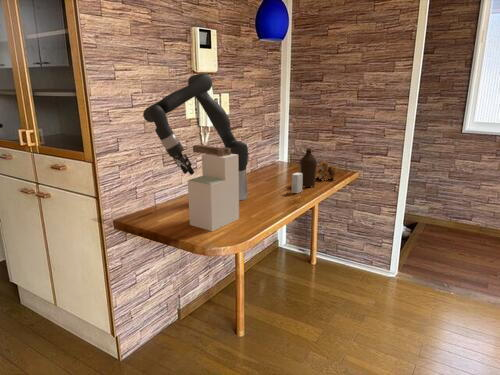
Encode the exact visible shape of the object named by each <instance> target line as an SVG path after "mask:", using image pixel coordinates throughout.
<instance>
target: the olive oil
mask: <svg viewBox="0 0 500 375" xmlns="http://www.w3.org/2000/svg"><path fill="white" fill-rule="evenodd" d="M299 173H303V181H302V186H305V187H311V186H314V185H316V178H315V177H316V176H317V160H316V157H315V156H314V155H313V154H312V147H306V150H305V155H303V156H302V157H301V159H300V161H299ZM305 187H304V188H305ZM314 187H315V186H314Z"/></svg>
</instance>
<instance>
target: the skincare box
mask: <svg viewBox="0 0 500 375" xmlns="http://www.w3.org/2000/svg"><path fill="white" fill-rule="evenodd" d="M302 181H303V173H300V172H294V173H292V174H291V193H292V192H293V193H299V192H301V191H302V192H303V187H302ZM302 192H301V193H302ZM293 193H292V194H293ZM299 194H300V193H299Z"/></svg>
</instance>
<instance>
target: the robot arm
mask: <svg viewBox="0 0 500 375" xmlns="http://www.w3.org/2000/svg"><path fill="white" fill-rule="evenodd" d="M187 84H188V85H186V86H185V87H183V88H180V89H178V90H176V91H173V92H171V93H169V94H168V95H166V96H165V97H163V98H162V99H160V100H159V101H157V102H155V103H153V104H151V105H149V106H148V107H146V108H145V109H144V111H143V114H142V115H143V118H144V120H145V121H146V122H148V123H154V124H155V127H156V128H155V130H154V131H155V133H156V135H157V137H158V138H159V139H160V140H159V141H161V144H162V146H163V148H164V149H165V151H166V153H167V154H168V155H169V157H170V158H172V159H173V161H174V162H175V165H176V166H177V167H179V168H180V169H181V171H182V172H183V174H188V173H189V176H192V175H194V174H195V171H194V169H193V168H192V165H193V164H192V162H191V161H190V159H189V157H188V156H187V154H186V153H184V154H183V153H182V152H184V149H185V148H184V147H183V145H182V143H181V142H180V140H179V138H178V137H177V135H176V134H175V132H174V130H173V129H172V128H171V126H170V125H169V124H170V123H169V120H168V118H167V115H166V114H169V113H171V112H173V111H174V110H176V109H178V108H179V107H180V106H182V105H184V104H185V103H187V102H188V101H189V100H191V99H193V98H196V100H197V101H198V102H199V104H200V106H201V108H202V109H203V111H204V112H205V113H206V115H207V117H208V119H209V121H210V123H211V124H212V125H213V128H214V129H215V130H216V131H215V132H217V135H218V136H219V137H220V139H221V141H222V143H223V145H224V148H231V154H237V155H238V167H239V201H244V200H246V199H247V198H248V181H247V166H248V164H249V163H248V161H249V149H248V145H247V143H245V142H243V141H239V140H237V139H236V138H235V136H234V134H233V132H232V129H231V121H230V120H231V119H229V116H228V114H227V112H226V111H225V110H224V108H223V107H222V106H221V105H220V104H219V103H218V102H217V101H216V100H214V99H213V98H212V97H211V95H210V94H209V91H210V90H211V89H212V86H213V79H212V77H211V76H210V75H209V74H207V73H198V74H194V75H193V74H192V75H191V76H189V78H188V80H187Z"/></svg>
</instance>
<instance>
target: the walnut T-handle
mask: <svg viewBox="0 0 500 375" xmlns="http://www.w3.org/2000/svg"><path fill="white" fill-rule="evenodd" d="M192 152H193V153H198V154H213V155H218V156H222V157H223V156H227V155H231V148H225V147H219V146H218V147H217V146H216V147H215V146H207V145H202V144H201V145H200V144H195V145H192Z"/></svg>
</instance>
